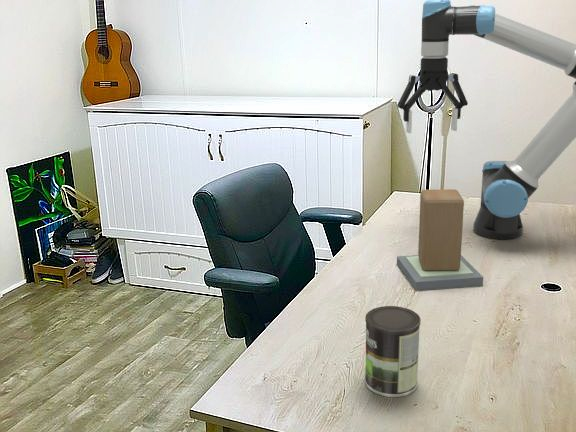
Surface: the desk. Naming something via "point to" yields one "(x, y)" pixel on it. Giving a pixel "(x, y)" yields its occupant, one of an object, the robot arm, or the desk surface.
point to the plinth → (438, 275)
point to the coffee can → (392, 350)
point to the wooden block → (440, 229)
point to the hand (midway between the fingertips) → (431, 131)
